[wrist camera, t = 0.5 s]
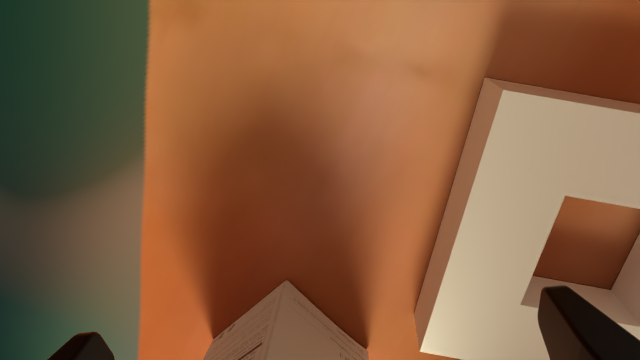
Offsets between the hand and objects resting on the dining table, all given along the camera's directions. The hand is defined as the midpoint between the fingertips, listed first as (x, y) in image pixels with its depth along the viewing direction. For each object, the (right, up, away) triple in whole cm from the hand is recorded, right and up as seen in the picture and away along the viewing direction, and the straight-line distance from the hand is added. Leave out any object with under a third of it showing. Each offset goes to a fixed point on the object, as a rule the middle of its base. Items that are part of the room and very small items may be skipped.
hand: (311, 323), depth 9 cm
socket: (+14, 0, +14) cm, 20 cm away
